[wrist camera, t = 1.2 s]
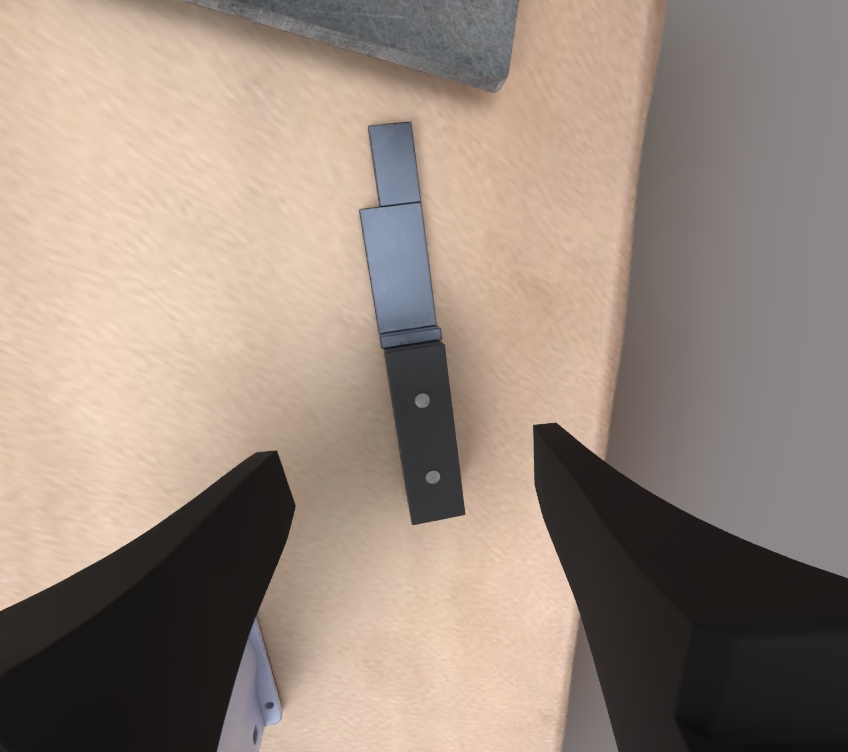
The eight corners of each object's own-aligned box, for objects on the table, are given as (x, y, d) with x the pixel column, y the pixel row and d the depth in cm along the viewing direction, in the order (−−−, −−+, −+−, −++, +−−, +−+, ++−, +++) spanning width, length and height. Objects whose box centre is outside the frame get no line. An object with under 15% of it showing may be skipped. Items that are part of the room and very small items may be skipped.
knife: (456, 488, 24) (468, 516, 21) (405, 498, 24) (410, 527, 21) (410, 124, 19) (417, 97, 17) (346, 130, 19) (342, 104, 16)
